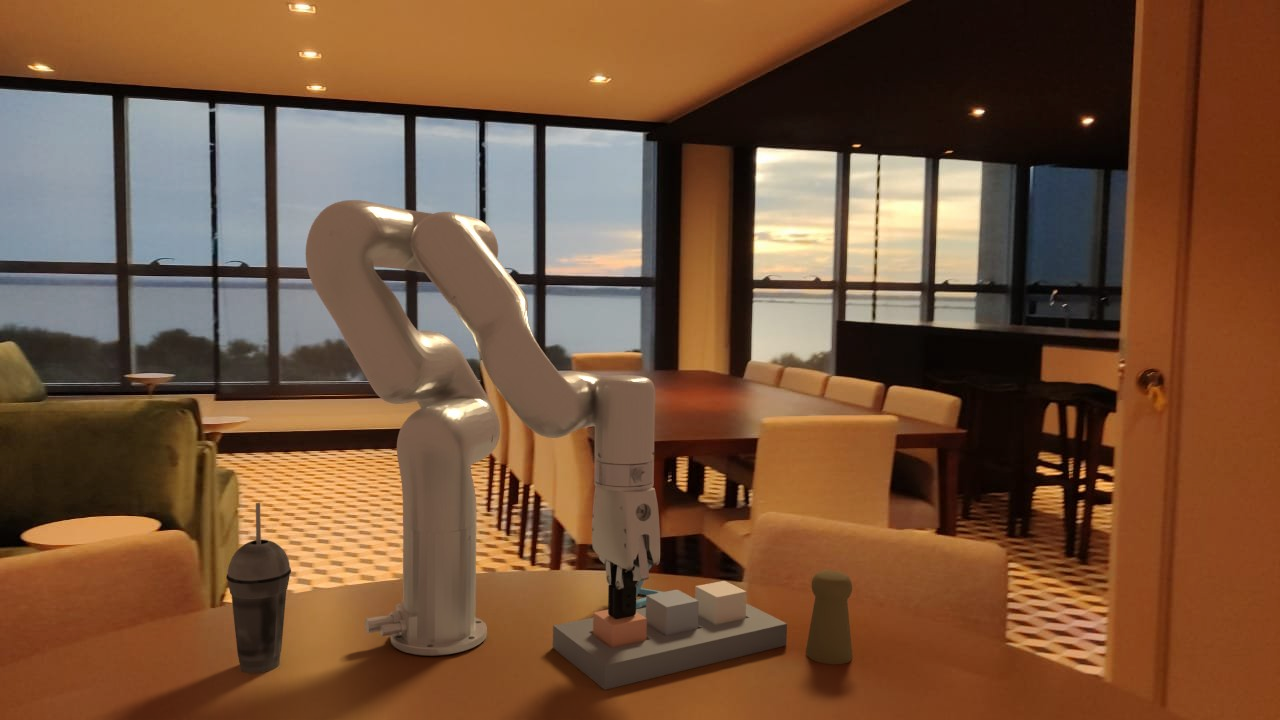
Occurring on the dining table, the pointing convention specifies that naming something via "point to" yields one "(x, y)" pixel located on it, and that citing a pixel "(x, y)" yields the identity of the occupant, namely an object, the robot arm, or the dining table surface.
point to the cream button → (721, 602)
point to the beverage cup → (259, 601)
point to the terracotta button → (619, 628)
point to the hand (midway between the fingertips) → (622, 615)
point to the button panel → (666, 647)
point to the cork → (830, 619)
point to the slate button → (672, 612)
